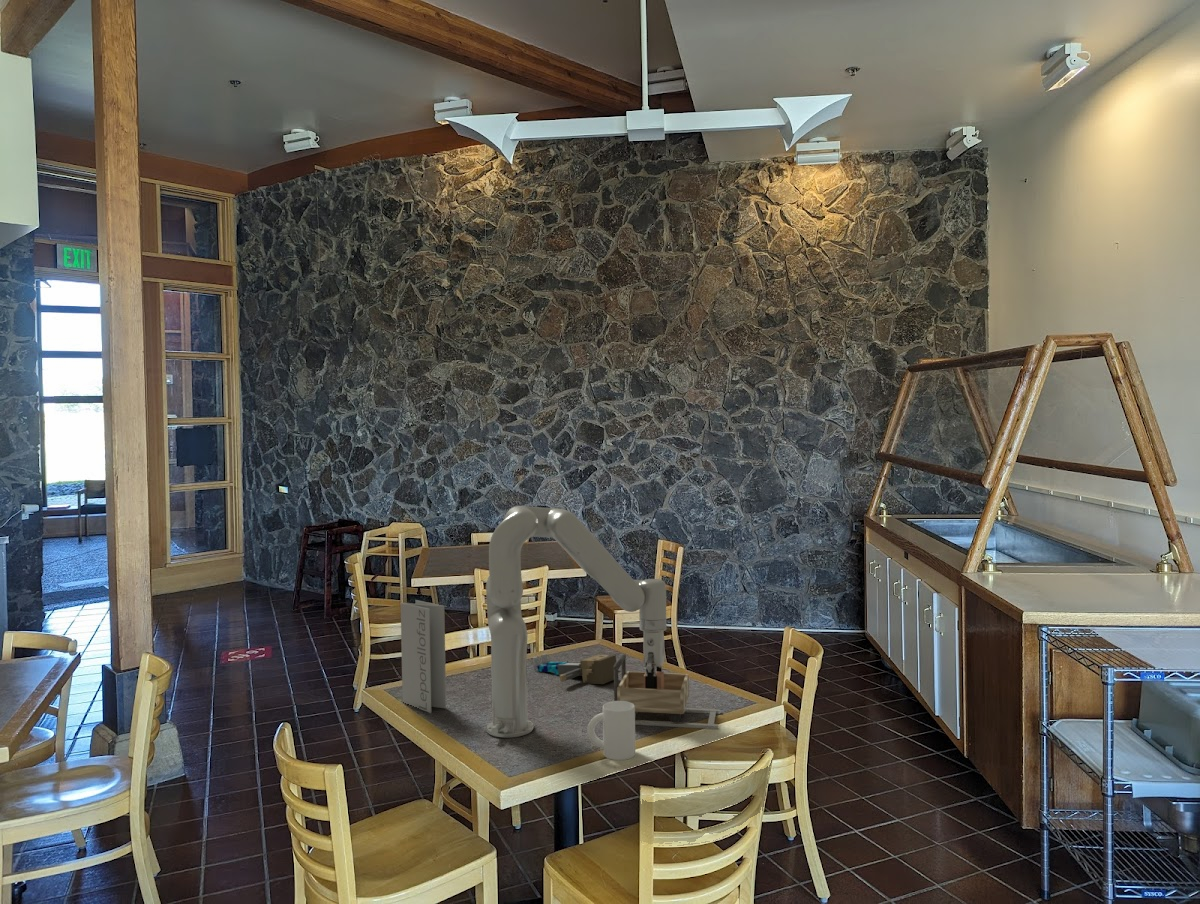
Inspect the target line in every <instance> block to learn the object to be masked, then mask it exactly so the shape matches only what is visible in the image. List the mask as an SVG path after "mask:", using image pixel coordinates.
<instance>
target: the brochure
mask: <svg viewBox="0 0 1200 904" xmlns="http://www.w3.org/2000/svg"><path fill="white" fill-rule="evenodd" d="M445 623H446V622H445V605H441V604H436V603H432V602H426V601H423V600H420V599H419V600H418V599H415V603H412V602H411V603H410V602H400V629H401V630H400V638H401V639H400V640H401V642H400V644H401V646H400V647H401V681H402V682H401V683H402V684H401V685H402V687H401V688H402V693H401V695H402V703H403V702H404V703H403V704H405V703H406V704H405V705H407V704H409V705H408V706H410V705H412V706H411V707H413V706H414V707H413V708H415V707H417V708H416V709H418V708H419V709H418V710H421V711H424V712H427V713H429V714H432V708H439V709H440V708H441V709H447V678H446V677H447V676H446V675H447V673H446V631H445V629H446V626H445V625H446V624H445Z"/></svg>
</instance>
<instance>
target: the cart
mask: <svg viewBox="0 0 1200 904" xmlns="http://www.w3.org/2000/svg"><path fill="white" fill-rule="evenodd" d="M626 657H627V654H626V653H624V652H623V653H621V654H620V655H619V657H618V658H617V659H616V663H615V665H614V666H613V669H614V680H613V691H614V692H613V698H614V699H613V701H627V702H630V703H633V704H634V706H635V712H638V713H653V714H669V720H670V722H674V723H676V722H680V720H681V718H682V716H681V715H684V714H685V712H684V711H685V708H687V703H688V699H689V697H690V685H689V684H690V673H674V672H673V673H671V672H664V689H646V688H644V686H643V676H644V674H645V672H646V671H631V670H630V671H629V670H627V669H626V663H627V662H626ZM620 667H621V681H620V682H619V678H618V677H619V669H620ZM626 670H627V671H626Z"/></svg>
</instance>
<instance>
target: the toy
mask: <svg viewBox="0 0 1200 904" xmlns="http://www.w3.org/2000/svg"><path fill="white" fill-rule="evenodd" d="M540 656H541V663H540V661H539V657H538V656H534V657H532V666H533V671H534V670H536V671H535V672H538V671H540V672H541V673H544V672H545V673H554V674H553V675H554V676H557V675H558V676H559V681H560V683H563V682H566V681H568V680H571V679H573V678H577V677H579V676H582V677H581V678H582V683H584V684H588V685H589V684H590V685H591V684H594V685H605V684H607V683H609V682H612V681H614V669H613V666H614V665H615V663H616V661H617V657H616V654H595V655H591V656H590V657H586V658H584V659H583V658H582V659H580V660H567V661H550V660H549V659H548V653H543V654H541V655H540ZM618 679H619V676H618Z"/></svg>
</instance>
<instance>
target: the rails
mask: <svg viewBox="0 0 1200 904" xmlns="http://www.w3.org/2000/svg"><path fill="white" fill-rule="evenodd" d="M638 713H639V712H635V718H636V717H637V715H638ZM684 713H694V714H695V713H696V714H709V715H708V721H707V723H701V722H700V723H699V722H685V721H684V722H682V721H678V722H676V723H674V722H672V721H665V720H663V721H662V720H646V719H645V720H644V719H635V726H636V725H637V726H651V727H652V726H654V727H675V728H690V729H692V728H693V729H706V730H707V729H709V730H718V729H719V724H718V723H717V724H716V723H715V722H716V721H715V720H716V717H717V715H720V714H721V709H715V708H695V707H685V711H684Z"/></svg>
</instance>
